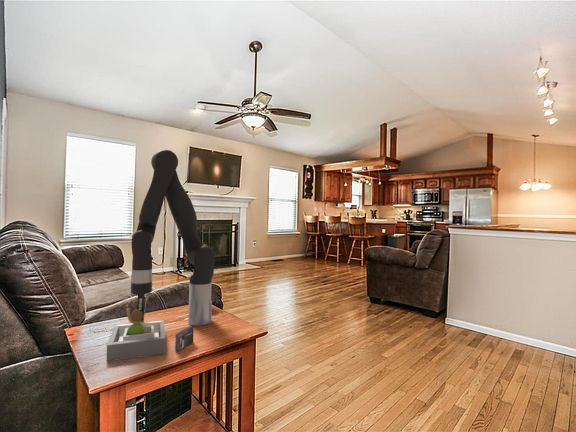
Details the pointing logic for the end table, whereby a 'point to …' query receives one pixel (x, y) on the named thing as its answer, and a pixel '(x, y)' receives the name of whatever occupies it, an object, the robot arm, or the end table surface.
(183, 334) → the mini dv tape
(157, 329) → the tray
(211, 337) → the end table surface
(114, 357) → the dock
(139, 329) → the snail figurine
